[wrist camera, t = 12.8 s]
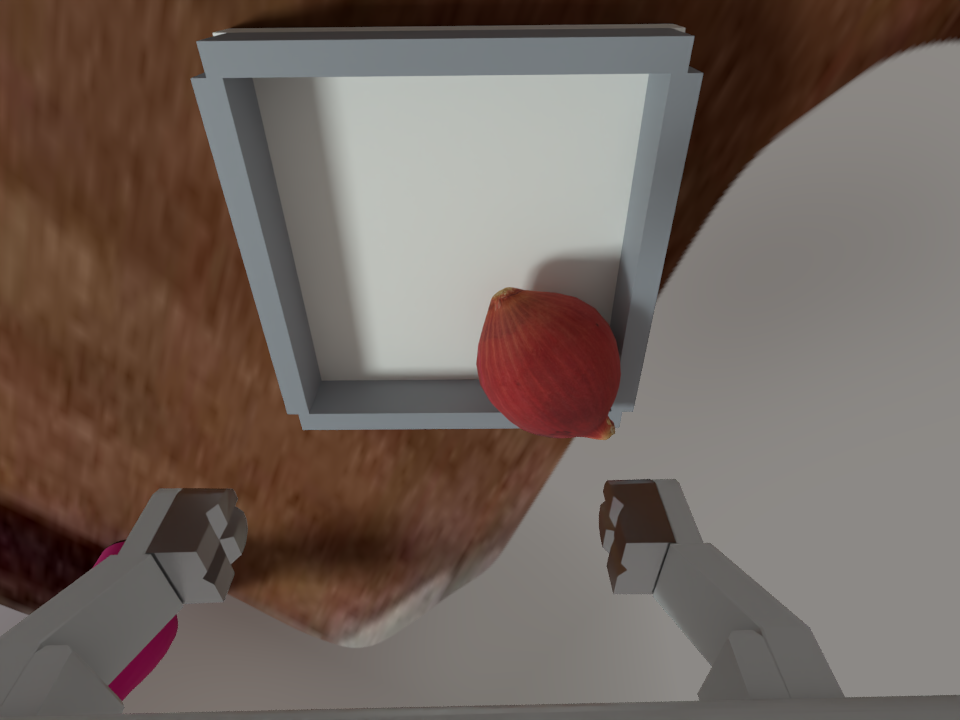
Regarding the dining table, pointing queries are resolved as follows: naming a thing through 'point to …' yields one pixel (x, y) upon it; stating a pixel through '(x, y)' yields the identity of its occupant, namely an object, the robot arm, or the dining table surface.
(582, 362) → the onion
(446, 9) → the dining table surface
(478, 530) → the dining table surface
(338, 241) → the stand
